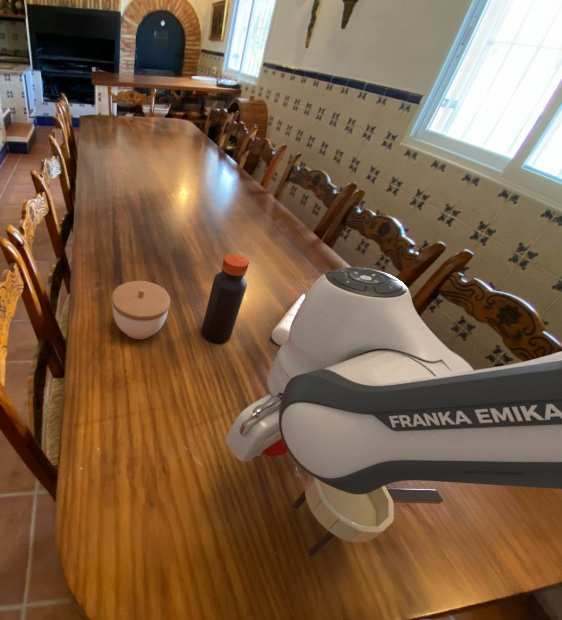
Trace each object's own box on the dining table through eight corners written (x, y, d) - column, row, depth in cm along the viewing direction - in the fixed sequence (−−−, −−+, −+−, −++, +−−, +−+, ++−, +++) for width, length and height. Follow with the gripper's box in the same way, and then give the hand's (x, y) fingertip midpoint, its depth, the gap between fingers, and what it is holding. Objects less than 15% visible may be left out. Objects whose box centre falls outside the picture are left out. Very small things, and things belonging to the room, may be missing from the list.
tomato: (293, 452, 54) (307, 431, 51) (269, 469, 52) (282, 448, 48) (266, 424, 58) (278, 403, 54) (243, 439, 55) (253, 418, 52)
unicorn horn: (317, 301, 95) (324, 286, 92) (288, 351, 80) (295, 335, 77) (299, 294, 97) (306, 279, 94) (268, 341, 82) (274, 325, 79)
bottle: (219, 321, 86) (239, 248, 74) (236, 339, 82) (261, 265, 69) (195, 327, 84) (212, 254, 71) (211, 347, 79) (232, 272, 66)
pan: (294, 565, 48) (333, 531, 40) (274, 496, 55) (304, 455, 47) (409, 567, 49) (469, 533, 41) (374, 498, 56) (420, 458, 48)
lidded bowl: (105, 314, 85) (106, 276, 78) (155, 307, 89) (160, 270, 82) (118, 352, 76) (120, 312, 69) (173, 343, 79) (180, 304, 72)
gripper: (268, 438, 38) (237, 494, 47) (374, 368, 47) (331, 426, 56) (228, 396, 42) (206, 455, 51) (332, 339, 51) (298, 397, 60)
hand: (272, 439), depth 54 cm, fingers closed on tomato, 5 cm apart
